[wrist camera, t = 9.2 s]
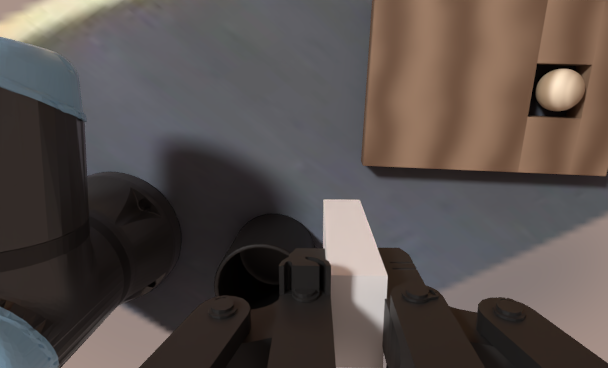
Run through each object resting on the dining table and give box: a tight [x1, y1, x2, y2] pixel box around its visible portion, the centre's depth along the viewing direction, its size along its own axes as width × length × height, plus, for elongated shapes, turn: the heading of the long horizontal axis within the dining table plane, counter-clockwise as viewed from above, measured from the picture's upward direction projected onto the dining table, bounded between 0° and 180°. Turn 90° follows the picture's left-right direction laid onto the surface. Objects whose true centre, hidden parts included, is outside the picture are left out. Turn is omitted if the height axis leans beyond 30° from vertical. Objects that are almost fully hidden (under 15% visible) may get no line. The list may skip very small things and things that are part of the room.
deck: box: [361, 0, 608, 176], centre depth 38 cm, size 24×16×2 cm, turn 88°
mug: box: [214, 214, 315, 310], centre depth 41 cm, size 9×12×9 cm
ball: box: [535, 69, 585, 111], centre depth 37 cm, size 4×4×4 cm
